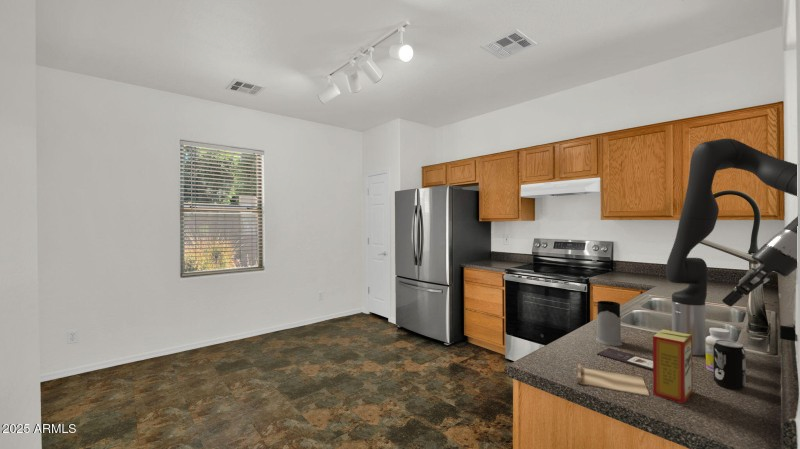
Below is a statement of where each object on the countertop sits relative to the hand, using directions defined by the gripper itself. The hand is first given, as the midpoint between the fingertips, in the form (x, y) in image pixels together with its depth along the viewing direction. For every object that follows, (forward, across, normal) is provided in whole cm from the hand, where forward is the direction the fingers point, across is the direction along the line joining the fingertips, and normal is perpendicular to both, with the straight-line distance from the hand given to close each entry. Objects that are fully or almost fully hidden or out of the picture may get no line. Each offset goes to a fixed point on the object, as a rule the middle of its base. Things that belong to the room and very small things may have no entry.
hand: (725, 303), depth 91 cm
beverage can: (+18, -14, +15) cm, 27 cm away
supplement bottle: (+19, -24, +13) cm, 33 cm away
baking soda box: (+27, +2, +7) cm, 28 cm away
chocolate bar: (+33, -18, -4) cm, 38 cm away
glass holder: (+37, -36, -13) cm, 53 cm away
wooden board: (+35, +4, -4) cm, 36 cm away
